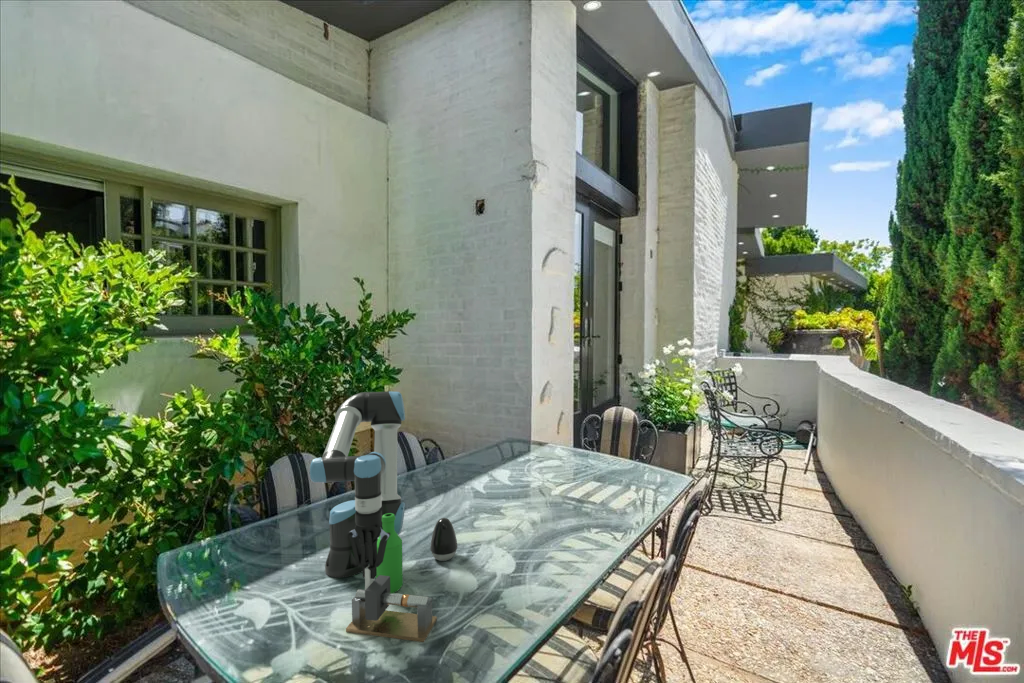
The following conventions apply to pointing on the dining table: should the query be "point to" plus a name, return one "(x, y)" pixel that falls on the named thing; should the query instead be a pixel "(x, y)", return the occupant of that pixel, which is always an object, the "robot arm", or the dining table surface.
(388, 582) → the grey sliding block
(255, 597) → the dining table surface
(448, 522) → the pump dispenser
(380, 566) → the bottle
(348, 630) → the pipe stand
